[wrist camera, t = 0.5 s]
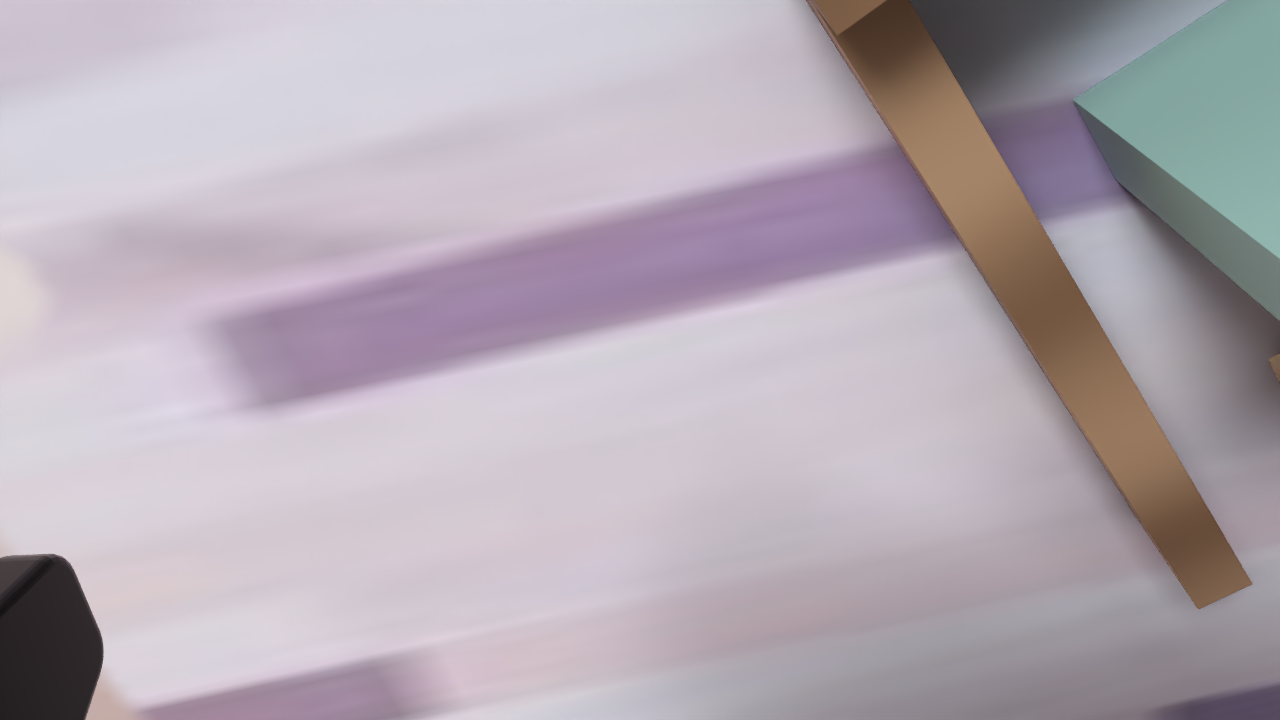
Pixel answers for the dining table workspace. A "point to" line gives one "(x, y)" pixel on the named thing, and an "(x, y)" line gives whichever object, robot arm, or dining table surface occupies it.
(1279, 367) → the offcut lower
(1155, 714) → the dining table surface
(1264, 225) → the teal rectangular block
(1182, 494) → the rack
